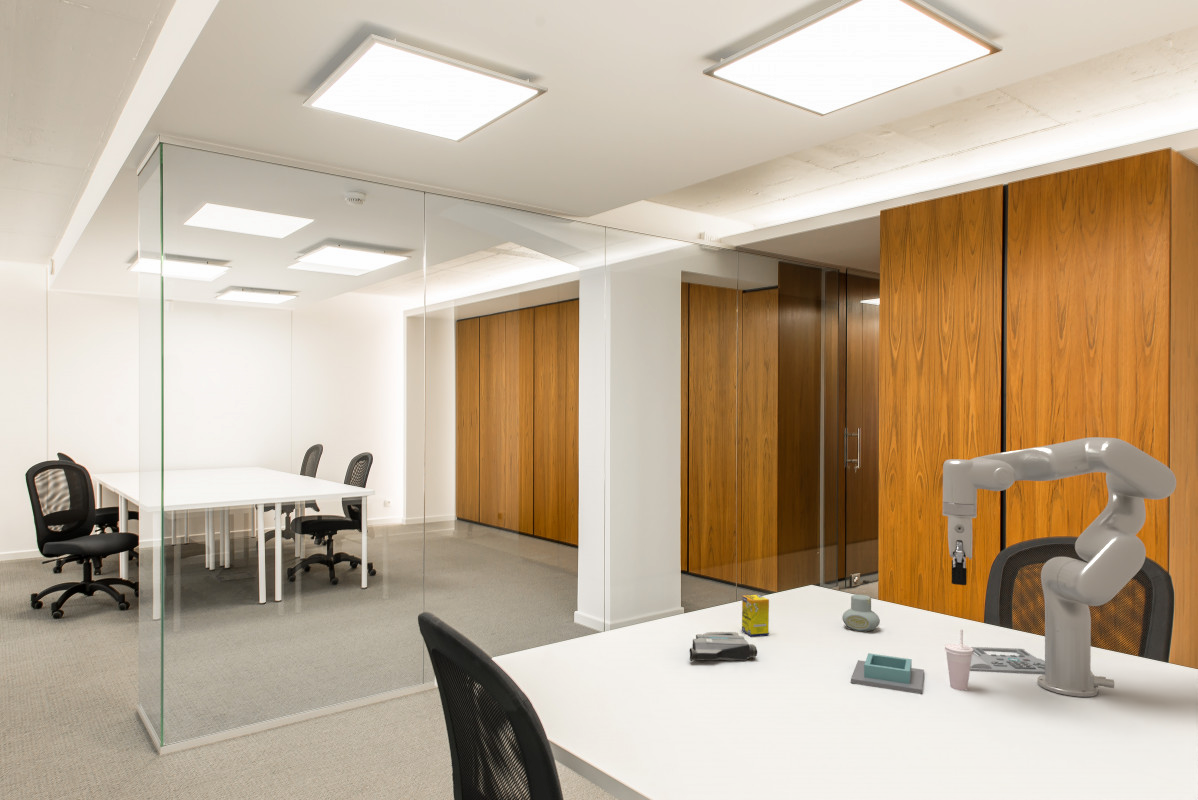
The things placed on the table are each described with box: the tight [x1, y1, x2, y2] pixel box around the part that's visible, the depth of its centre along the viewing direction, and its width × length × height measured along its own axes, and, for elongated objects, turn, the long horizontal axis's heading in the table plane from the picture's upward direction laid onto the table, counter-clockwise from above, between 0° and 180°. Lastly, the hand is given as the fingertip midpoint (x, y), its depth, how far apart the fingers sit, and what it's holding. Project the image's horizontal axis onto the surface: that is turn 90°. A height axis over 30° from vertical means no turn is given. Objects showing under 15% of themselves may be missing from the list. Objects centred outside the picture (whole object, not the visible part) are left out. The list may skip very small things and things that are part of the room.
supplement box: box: [741, 594, 770, 638], centre depth 227 cm, size 6×6×11 cm
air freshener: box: [841, 594, 881, 633], centre depth 234 cm, size 11×8×10 cm
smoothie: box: [944, 629, 975, 691], centre depth 184 cm, size 6×6×14 cm
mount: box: [850, 653, 925, 695], centre depth 190 cm, size 16×16×4 cm
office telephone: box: [970, 646, 1045, 675], centre depth 205 cm, size 23×3×20 cm
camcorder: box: [689, 631, 758, 662], centre depth 206 cm, size 16×20×5 cm
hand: (958, 580), depth 184 cm, fingers open, 9 cm apart
